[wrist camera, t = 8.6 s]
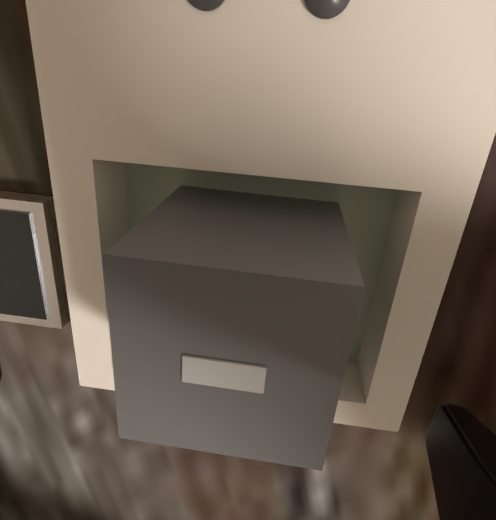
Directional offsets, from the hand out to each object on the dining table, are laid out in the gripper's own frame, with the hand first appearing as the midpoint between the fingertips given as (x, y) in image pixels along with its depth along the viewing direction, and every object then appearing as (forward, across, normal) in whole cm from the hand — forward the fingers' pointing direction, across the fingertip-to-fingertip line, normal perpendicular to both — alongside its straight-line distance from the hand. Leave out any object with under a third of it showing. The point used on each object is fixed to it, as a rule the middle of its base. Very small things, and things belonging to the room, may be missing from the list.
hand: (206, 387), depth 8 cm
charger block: (+6, 0, 0) cm, 6 cm away
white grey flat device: (+6, 0, -3) cm, 7 cm away
